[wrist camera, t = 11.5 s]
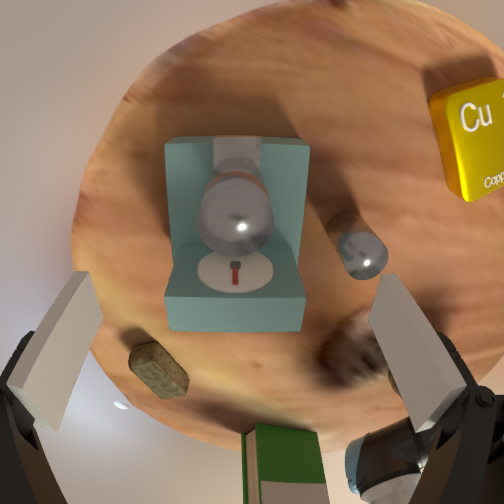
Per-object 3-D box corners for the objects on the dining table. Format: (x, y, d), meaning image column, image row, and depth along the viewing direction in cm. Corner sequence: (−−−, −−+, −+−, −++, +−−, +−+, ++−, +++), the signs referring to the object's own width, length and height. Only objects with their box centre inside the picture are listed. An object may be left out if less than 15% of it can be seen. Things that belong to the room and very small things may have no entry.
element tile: (447, 196, 37) (466, 209, 32) (422, 95, 30) (444, 98, 25) (509, 164, 34) (528, 174, 30) (492, 74, 27) (514, 77, 23)
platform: (255, 220, 32) (256, 233, 29) (216, 219, 31) (214, 232, 29) (258, 133, 27) (261, 137, 25) (216, 132, 27) (213, 137, 24)
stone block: (156, 336, 46) (150, 359, 42) (192, 376, 52) (190, 398, 48) (130, 345, 47) (123, 367, 43) (167, 382, 53) (164, 403, 49)
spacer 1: (263, 212, 28) (271, 257, 21) (208, 212, 28) (198, 256, 21) (265, 159, 26) (276, 187, 19) (207, 158, 25) (195, 185, 18)
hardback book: (241, 434, 64) (244, 523, 43) (256, 422, 61) (263, 518, 40) (299, 444, 69) (310, 522, 48) (316, 432, 66) (331, 515, 45)
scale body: (289, 255, 40) (310, 330, 27) (181, 254, 39) (159, 330, 27) (300, 138, 32) (338, 169, 20) (174, 136, 32) (135, 166, 19)
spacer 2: (359, 245, 39) (382, 279, 32) (324, 245, 39) (342, 280, 32) (366, 211, 37) (392, 240, 30) (330, 209, 37) (350, 239, 30)
